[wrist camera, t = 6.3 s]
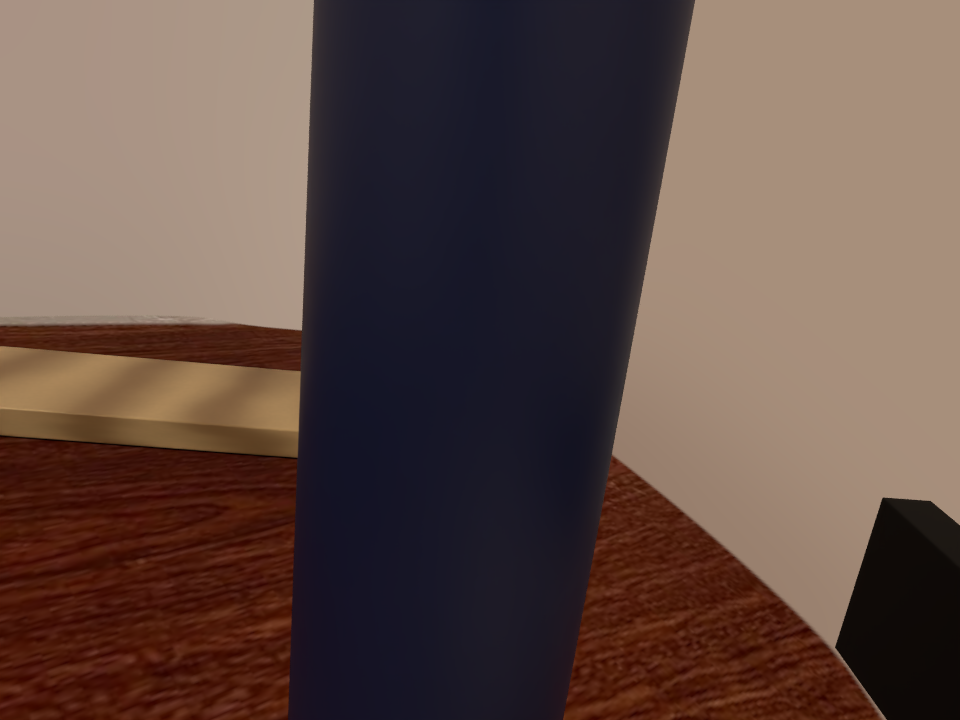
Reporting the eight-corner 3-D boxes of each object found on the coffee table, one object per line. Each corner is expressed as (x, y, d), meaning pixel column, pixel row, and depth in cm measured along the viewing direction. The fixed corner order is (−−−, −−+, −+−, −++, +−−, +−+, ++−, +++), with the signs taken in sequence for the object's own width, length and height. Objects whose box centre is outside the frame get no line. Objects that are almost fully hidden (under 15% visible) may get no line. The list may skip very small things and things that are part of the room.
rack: (382, 401, 45) (428, -222, 35) (370, 464, 38) (425, -307, 28) (-64, 365, 43) (-151, -309, 33) (-171, 423, 36) (-325, -427, 26)
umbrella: (511, 1253, 12) (1106, -1461, 4) (235, 1257, 12) (267, -1723, 4) (480, 753, 22) (640, -380, 14) (324, 746, 22) (390, -423, 13)
